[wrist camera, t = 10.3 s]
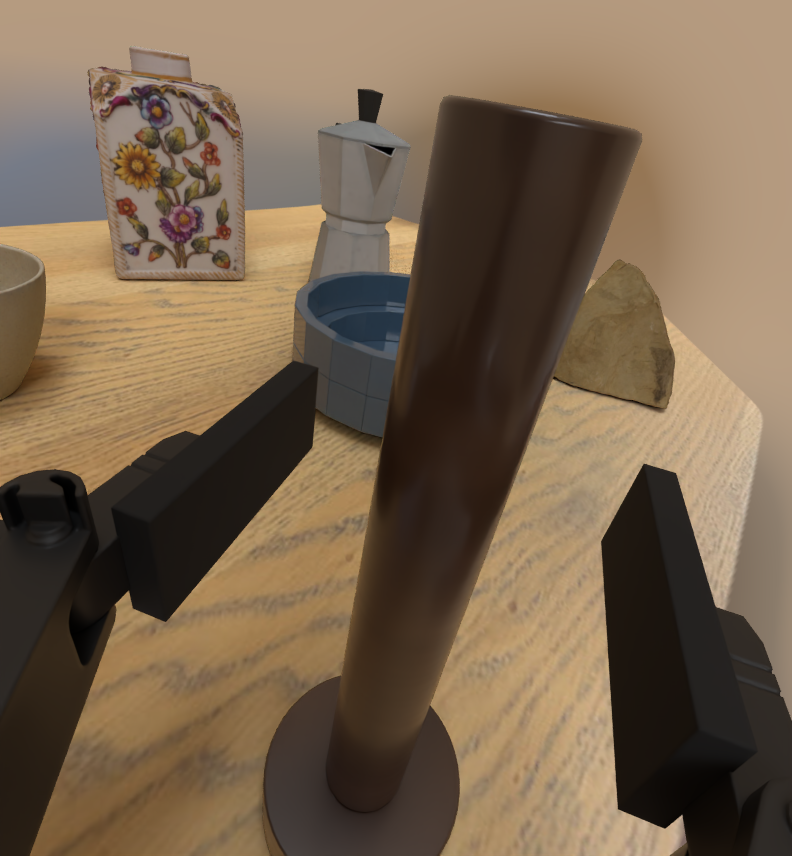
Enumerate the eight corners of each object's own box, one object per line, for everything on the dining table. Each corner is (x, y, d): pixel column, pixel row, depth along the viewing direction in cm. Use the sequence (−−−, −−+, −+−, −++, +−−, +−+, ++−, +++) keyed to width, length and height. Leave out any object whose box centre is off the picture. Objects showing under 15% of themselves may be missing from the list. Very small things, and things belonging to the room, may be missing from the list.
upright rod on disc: (483, 808, 15) (883, 177, 6) (339, 986, 12) (731, 126, 2) (368, 669, 18) (495, 109, 9) (227, 777, 15) (175, 43, 5)
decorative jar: (247, 282, 50) (244, 65, 40) (116, 282, 45) (77, 33, 35) (224, 247, 59) (218, 61, 49) (112, 243, 53) (80, 34, 44)
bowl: (557, 411, 38) (585, 339, 34) (398, 489, 27) (418, 396, 24) (408, 328, 47) (420, 264, 44) (248, 362, 36) (247, 282, 33)
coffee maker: (410, 316, 49) (448, 104, 40) (325, 316, 46) (344, 83, 36) (361, 267, 60) (382, 92, 51) (289, 265, 57) (296, 75, 47)
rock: (711, 381, 41) (620, 319, 47) (734, 313, 34) (625, 250, 40) (608, 458, 41) (529, 386, 47) (610, 405, 34) (518, 328, 40)
